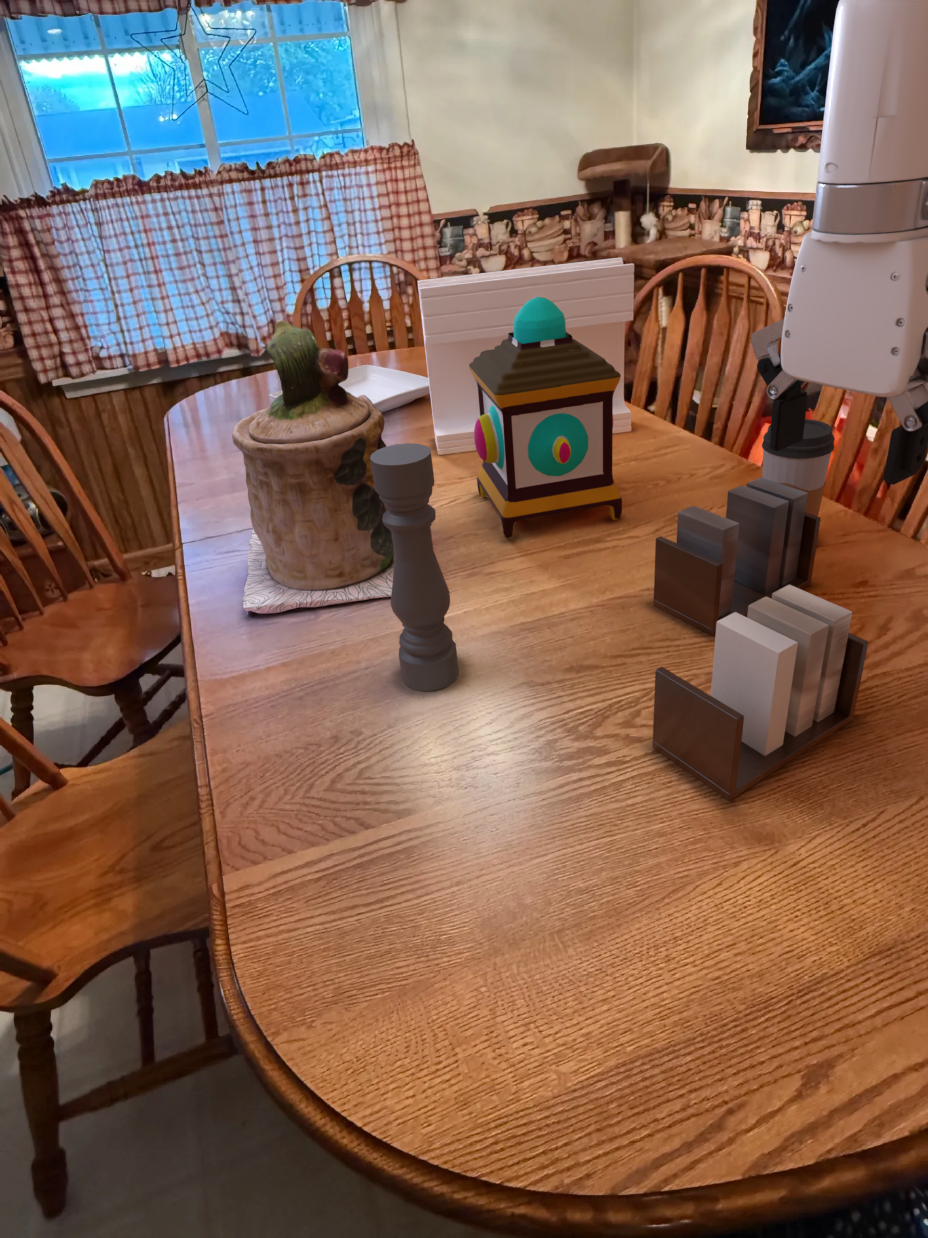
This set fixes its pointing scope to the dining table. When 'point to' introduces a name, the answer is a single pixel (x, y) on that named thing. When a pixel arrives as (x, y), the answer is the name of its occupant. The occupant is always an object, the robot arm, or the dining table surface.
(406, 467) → the candle holder
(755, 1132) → the dining table surface
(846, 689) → the dark brown rack
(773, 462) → the coffee cup
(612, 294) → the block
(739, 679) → the white book
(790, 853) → the dining table surface
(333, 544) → the cookie jar
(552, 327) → the decorative lantern
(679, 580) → the dark brown wooden holder
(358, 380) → the square plate
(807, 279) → the robot arm
